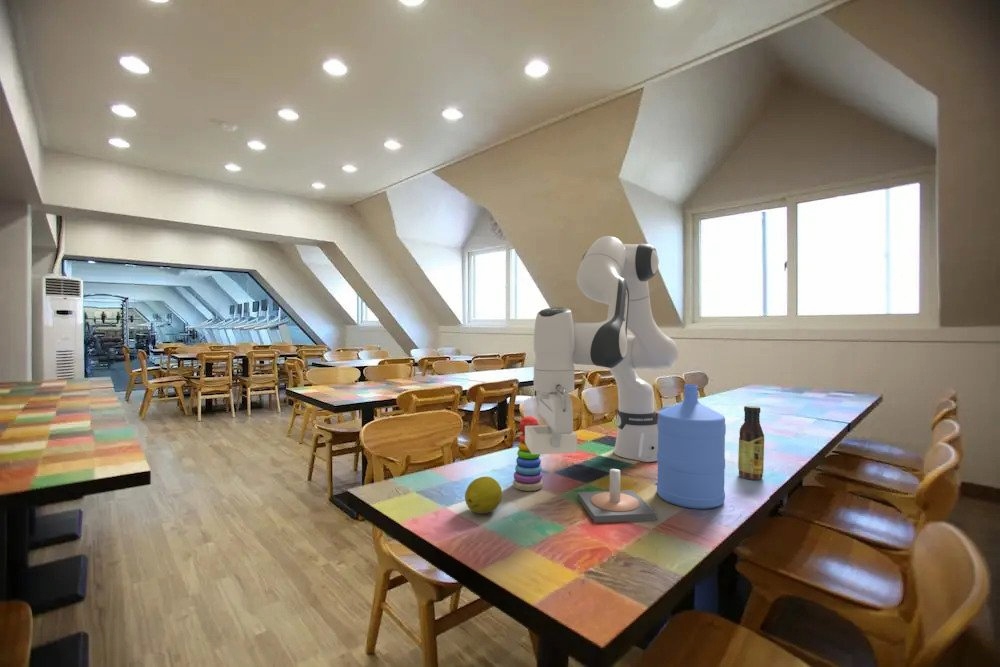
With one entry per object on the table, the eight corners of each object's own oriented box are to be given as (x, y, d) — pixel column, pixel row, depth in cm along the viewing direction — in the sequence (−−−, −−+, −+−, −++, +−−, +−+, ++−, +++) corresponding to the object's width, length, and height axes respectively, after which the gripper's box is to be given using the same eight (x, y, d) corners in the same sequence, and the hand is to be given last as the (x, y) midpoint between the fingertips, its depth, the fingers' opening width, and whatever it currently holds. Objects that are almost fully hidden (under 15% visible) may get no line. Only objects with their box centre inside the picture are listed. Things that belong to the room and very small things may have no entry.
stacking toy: (541, 493, 119) (541, 420, 118) (510, 491, 120) (510, 419, 120) (544, 482, 126) (544, 414, 126) (515, 480, 128) (515, 413, 127)
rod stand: (632, 495, 117) (632, 460, 117) (656, 519, 103) (656, 479, 103) (577, 498, 116) (577, 462, 115) (594, 522, 102) (594, 482, 101)
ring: (566, 441, 112) (566, 424, 112) (577, 452, 102) (577, 434, 102) (524, 442, 111) (524, 425, 111) (531, 454, 101) (531, 436, 101)
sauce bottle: (758, 482, 126) (759, 409, 126) (734, 476, 131) (735, 406, 130) (767, 477, 130) (768, 406, 130) (743, 471, 135) (744, 403, 135)
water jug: (712, 516, 105) (713, 392, 104) (646, 498, 115) (646, 385, 115) (733, 496, 116) (735, 385, 115) (671, 481, 127) (672, 379, 126)
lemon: (486, 501, 114) (486, 468, 114) (510, 509, 109) (510, 475, 108) (453, 515, 106) (453, 480, 105) (478, 525, 100) (478, 488, 100)
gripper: (581, 389, 92) (580, 458, 92) (558, 376, 112) (558, 433, 112) (549, 389, 91) (549, 459, 91) (532, 376, 111) (532, 433, 112)
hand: (554, 444), depth 102 cm, fingers closed on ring
